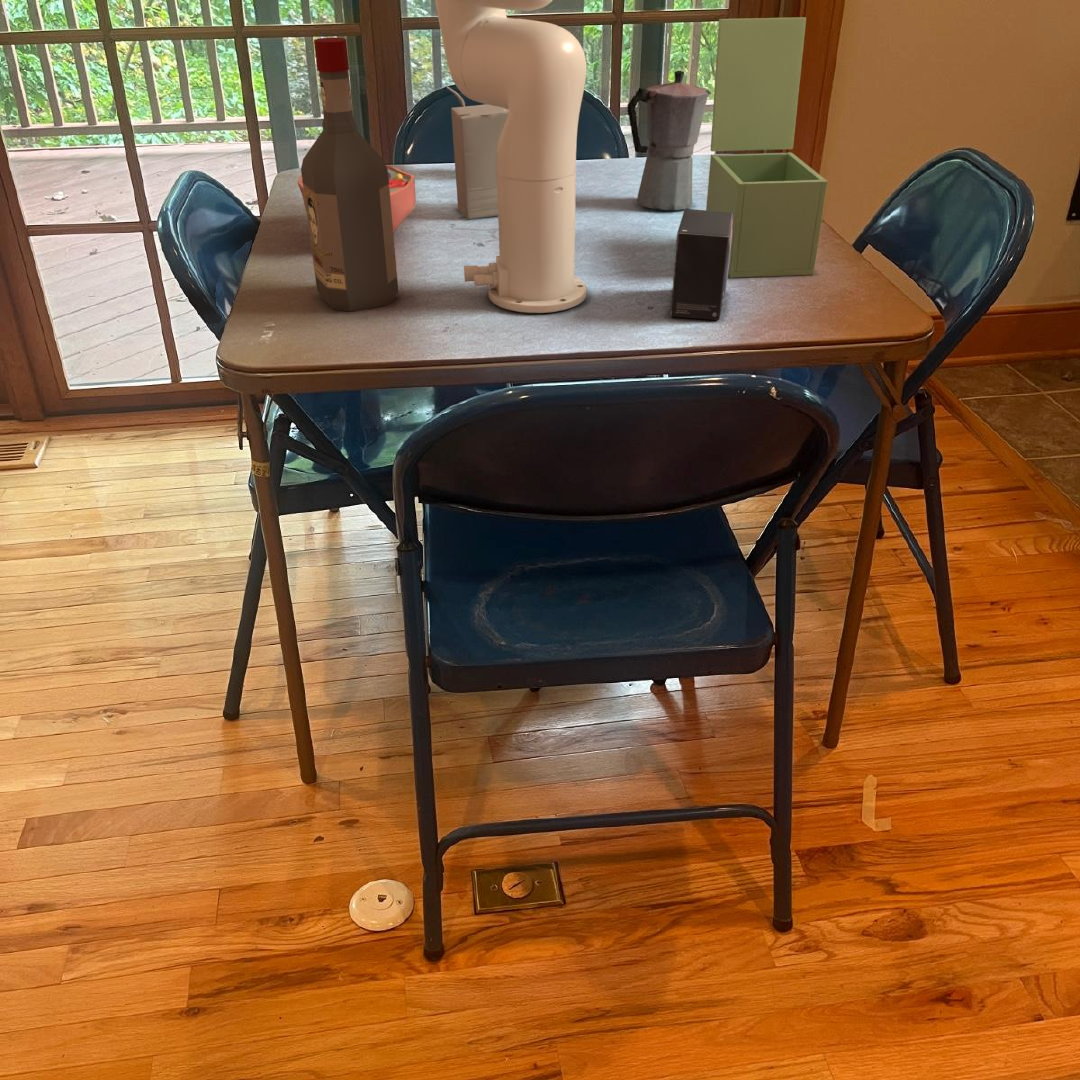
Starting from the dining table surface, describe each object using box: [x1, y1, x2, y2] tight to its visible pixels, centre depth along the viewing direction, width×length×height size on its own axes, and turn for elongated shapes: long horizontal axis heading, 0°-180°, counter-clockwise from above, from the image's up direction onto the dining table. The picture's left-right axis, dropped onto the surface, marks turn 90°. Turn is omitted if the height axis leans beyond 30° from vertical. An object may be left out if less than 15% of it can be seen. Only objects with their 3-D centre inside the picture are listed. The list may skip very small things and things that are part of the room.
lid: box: [710, 16, 807, 152], centre depth 136 cm, size 16×12×1 cm
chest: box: [705, 151, 828, 279], centre depth 138 cm, size 16×12×12 cm
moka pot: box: [626, 70, 712, 211], centre depth 157 cm, size 10×15×20 cm, turn 124°
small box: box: [669, 208, 733, 321], centre depth 123 cm, size 11×6×10 cm, turn 168°
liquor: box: [300, 37, 399, 312], centre depth 121 cm, size 9×9×30 cm
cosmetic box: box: [450, 104, 509, 220], centre depth 156 cm, size 8×7×16 cm
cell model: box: [296, 165, 417, 234], centre depth 147 cm, size 17×20×11 cm
